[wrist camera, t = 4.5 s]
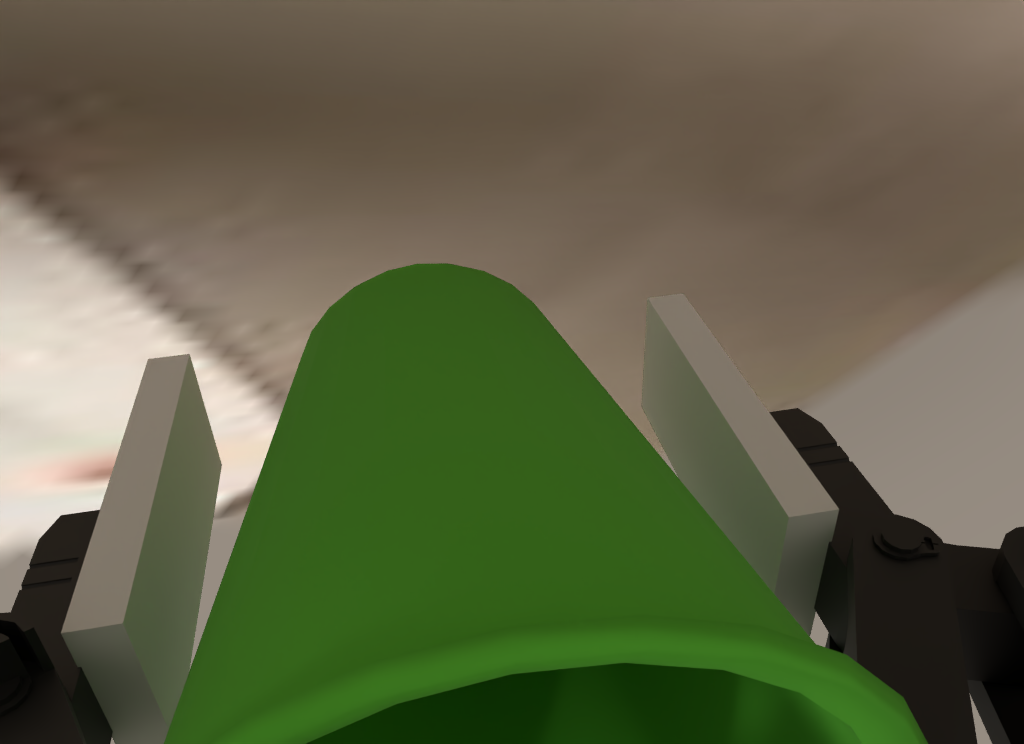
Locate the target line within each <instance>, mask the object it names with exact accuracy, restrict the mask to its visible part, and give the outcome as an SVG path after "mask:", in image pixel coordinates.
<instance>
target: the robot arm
mask: <svg viewBox="0 0 1024 744" xmlns="http://www.w3.org/2000/svg"><path fill="white" fill-rule="evenodd" d="M642 408H643V410H644V412H645V414H646V416H647V418H648V420H649V422H650V424H651V425H652V427H653V429H654V431H655V433H656V435H657V437H658V439H659V441H660V443H661V445H662V447H663V449H664V450H665V452H666V454H667V456H668V458H669V460H670V462H671V464H672V466H673V468H674V470H675V472H676V473H677V476H678V477H679V479H680V481H681V482H682V483H683V484H684V485H685V487H686V488H687V489H688V490H689V491H690V493H691V494H692V495H693V496H694V498H695V499H696V500H697V501H698V502H699V504H700V505H701V506H702V507H703V508H704V510H705V511H706V512H707V513H708V514H709V516H710V517H711V518H712V519H713V520H714V522H715V523H716V524H717V525H718V527H719V528H720V529H721V530H722V531H723V533H724V534H725V535H726V536H727V537H728V539H729V540H730V541H731V542H732V543H733V545H734V546H735V547H736V548H737V550H738V551H739V552H740V553H741V554H742V556H743V557H744V558H745V559H746V560H747V562H748V563H749V564H750V565H751V566H752V568H753V569H754V570H755V571H756V573H757V574H758V575H759V576H760V577H761V579H762V580H763V581H764V582H765V583H766V585H767V586H768V587H769V588H770V589H771V591H772V592H773V593H774V594H775V595H776V597H777V598H778V599H779V600H780V602H781V603H782V604H783V605H784V606H785V608H786V609H787V610H788V611H789V612H790V614H791V615H792V616H793V617H794V618H795V620H796V621H797V622H798V623H799V625H800V626H801V627H802V628H803V629H804V631H805V632H806V633H807V634H808V635H809V636H810V634H811V630H812V625H813V620H814V617H815V612H817V614H818V615H819V617H820V619H821V620H822V622H823V624H824V625H825V627H826V628H827V630H828V632H829V634H828V638H827V643H826V647H825V648H828V649H831V650H834V651H837V652H840V653H843V654H846V655H848V656H849V657H850V658H852V659H853V660H854V661H856V662H857V663H858V664H860V665H861V666H862V667H864V668H865V669H866V670H868V671H869V672H870V673H872V674H873V675H874V676H876V677H877V678H878V679H880V680H881V681H882V682H884V683H885V684H886V685H888V686H889V687H890V688H892V689H893V690H894V691H896V692H897V693H898V694H900V695H901V696H902V697H904V699H905V701H906V703H907V705H908V707H909V709H910V711H911V712H912V714H913V716H914V718H915V720H916V722H917V724H918V726H919V727H920V729H921V731H922V733H923V735H924V737H925V739H926V741H927V742H928V744H977V739H976V732H975V726H974V719H973V713H972V707H971V700H970V695H971V697H972V699H973V701H974V703H975V706H976V708H977V710H978V713H979V715H980V717H981V719H982V722H983V724H984V726H985V728H986V730H987V733H988V735H989V737H990V739H991V741H992V744H1024V527H1018V528H1015V529H1013V530H1012V531H1010V532H1009V533H1007V534H1006V535H1005V538H1004V540H1003V543H1002V545H1001V548H1000V549H991V548H980V547H969V546H957V545H951V544H946V543H943V541H942V539H940V538H939V537H938V536H937V535H936V534H935V533H934V532H933V531H932V530H931V529H930V528H929V527H927V526H925V525H923V524H921V523H919V522H918V521H916V520H914V519H910V518H906V517H903V516H899V515H894V514H893V513H892V511H891V510H890V509H889V508H888V506H887V505H886V504H885V503H884V501H883V500H882V499H881V497H880V496H879V495H878V494H877V492H876V491H875V490H874V489H873V487H872V486H871V485H870V484H869V482H868V481H867V480H866V479H865V477H864V476H863V475H862V474H861V472H860V471H859V470H858V468H857V467H856V466H855V465H854V463H853V462H850V461H849V457H848V456H847V455H846V453H845V452H844V451H843V450H842V448H841V447H840V446H837V442H836V441H835V439H834V438H833V437H832V436H831V434H830V433H829V432H828V431H827V430H826V428H825V427H824V426H823V424H822V423H820V422H819V421H817V420H816V419H814V418H812V417H811V416H809V415H808V414H806V413H805V412H803V411H801V410H800V409H798V408H796V409H789V410H782V411H775V412H769V411H768V410H767V409H766V407H765V406H764V404H763V403H762V402H761V400H760V399H759V398H758V396H757V395H756V393H755V392H754V391H753V389H752V388H751V386H750V385H749V384H748V382H747V381H746V380H745V378H744V377H743V375H742V374H741V373H740V371H739V370H738V368H737V367H736V366H735V364H734V363H733V362H732V360H731V359H730V357H729V356H728V355H727V353H726V352H725V350H724V349H723V348H722V346H721V345H720V344H719V342H718V341H717V339H716V338H715V337H714V335H713V334H712V332H711V331H710V330H709V328H708V327H707V326H706V324H705V323H704V321H703V320H702V319H701V317H700V316H699V314H698V313H697V312H696V310H695V309H694V308H693V306H692V305H691V303H690V302H689V301H688V299H687V298H686V296H685V295H684V294H683V293H682V294H674V295H665V296H657V297H649V298H647V315H646V334H645V352H644V370H643V388H642ZM221 466H222V464H221V461H220V457H219V454H218V450H217V447H216V443H215V440H214V437H213V433H212V430H211V426H210V423H209V419H208V416H207V413H206V409H205V406H204V402H203V399H202V395H201V392H200V389H199V385H198V382H197V378H196V375H195V371H194V368H193V365H192V361H191V358H190V354H187V355H178V356H170V357H162V358H154V359H148V361H147V365H146V368H145V371H144V374H143V377H142V380H141V383H140V387H139V390H138V393H137V396H136V399H135V402H134V405H133V408H132V412H131V415H130V418H129V421H128V424H127V427H126V430H125V434H124V437H123V440H122V443H121V446H120V449H119V452H118V456H117V459H116V462H115V465H114V468H113V471H112V474H111V477H110V481H109V484H108V487H107V490H106V493H105V496H104V499H103V503H102V506H101V509H100V510H96V511H89V512H82V513H75V514H68V515H61V516H60V517H59V518H58V519H57V520H56V522H55V523H54V524H53V525H52V526H51V527H50V528H49V529H48V530H47V531H46V533H45V534H44V535H43V536H42V537H41V538H40V539H39V541H38V544H37V546H36V549H35V551H34V554H33V557H32V559H31V562H30V564H29V565H30V569H28V570H27V572H26V575H25V577H24V580H23V582H22V590H20V591H19V593H18V595H17V598H16V600H15V603H14V605H13V608H12V611H11V613H10V612H9V613H0V744H110V742H111V738H113V740H114V742H115V744H164V741H165V739H166V736H167V733H168V730H169V727H170V725H171V722H172V719H173V716H174V713H175V711H176V708H177V705H178V702H179V699H180V697H181V694H182V691H183V688H184V685H185V683H186V680H187V677H188V674H189V669H190V663H191V656H192V650H193V643H194V637H195V631H196V624H197V618H198V612H199V605H200V599H201V593H202V586H203V580H204V574H205V567H206V561H207V554H208V548H209V542H210V536H211V529H212V523H213V517H214V510H215V504H216V498H217V491H218V485H219V479H220V472H221ZM969 692H970V694H969Z"/></svg>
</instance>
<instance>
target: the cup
mask: <svg viewBox="0 0 1024 744" xmlns="http://www.w3.org/2000/svg"><path fill="white" fill-rule="evenodd" d="M164 744H928V742H927V741H926V739H925V737H924V735H923V733H922V731H921V729H920V727H919V726H918V724H917V722H916V720H915V718H914V716H913V714H912V712H911V711H910V709H909V707H908V705H907V703H906V701H905V699H904V697H902V696H901V695H900V694H898V693H897V692H896V691H894V690H893V689H892V688H890V687H889V686H888V685H886V684H885V683H884V682H882V681H881V680H880V679H878V678H877V677H876V676H874V675H873V674H872V673H870V672H869V671H868V670H866V669H865V668H864V667H862V666H861V665H860V664H858V663H857V662H856V661H854V660H853V659H852V658H850V657H849V656H848V655H846V654H843V653H840V652H837V651H834V650H831V649H828V648H825V647H822V646H819V645H816V644H815V643H814V641H813V640H812V639H811V638H810V637H809V635H808V634H807V633H806V632H805V631H804V629H803V628H802V627H801V626H800V625H799V623H798V622H797V621H796V620H795V618H794V617H793V616H792V615H791V614H790V612H789V611H788V610H787V609H786V608H785V606H784V605H783V604H782V603H781V602H780V600H779V599H778V598H777V597H776V595H775V594H774V593H773V592H772V591H771V589H770V588H769V587H768V586H767V585H766V583H765V582H764V581H763V580H762V579H761V577H760V576H759V575H758V574H757V573H756V571H755V570H754V569H753V568H752V566H751V565H750V564H749V563H748V562H747V560H746V559H745V558H744V557H743V556H742V554H741V553H740V552H739V551H738V550H737V548H736V547H735V546H734V545H733V543H732V542H731V541H730V540H729V539H728V537H727V536H726V535H725V534H724V533H723V531H722V530H721V529H720V528H719V527H718V525H717V524H716V523H715V522H714V520H713V519H712V518H711V517H710V516H709V514H708V513H707V512H706V511H705V510H704V508H703V507H702V506H701V505H700V504H699V502H698V501H697V500H696V499H695V498H694V496H693V495H692V494H691V493H690V491H689V490H688V489H687V488H686V487H685V485H684V484H683V483H682V482H681V481H680V479H679V478H678V477H677V476H676V475H675V473H674V472H673V471H672V470H671V468H670V467H669V466H668V465H667V464H666V462H665V461H664V460H663V459H662V458H661V456H660V455H659V454H658V453H657V452H656V450H655V449H654V448H653V447H652V445H651V444H650V443H649V442H648V441H647V439H646V438H645V437H644V436H643V435H642V433H641V432H640V431H639V430H638V429H637V427H636V426H635V425H634V424H633V423H632V421H631V420H630V419H629V418H628V416H627V415H626V414H625V413H624V412H623V410H622V409H621V408H620V407H619V406H618V404H617V403H616V402H615V401H614V400H613V398H612V397H611V396H610V395H609V393H608V392H607V391H606V390H605V389H604V387H603V386H602V385H601V384H600V383H599V381H598V380H597V379H596V378H595V377H594V375H593V374H592V373H591V372H590V371H589V369H588V368H587V367H586V366H585V364H584V363H583V362H582V361H581V360H580V358H579V357H578V356H577V355H576V354H575V352H574V351H573V350H572V349H571V348H570V346H569V345H568V344H567V343H566V341H565V340H564V339H563V338H562V337H561V335H560V334H559V333H558V332H557V331H556V329H555V328H554V327H553V326H552V325H551V323H550V322H549V321H548V320H547V318H546V317H545V316H544V315H543V314H542V312H541V311H540V310H539V309H538V308H537V306H536V305H535V304H534V303H533V302H532V301H531V300H529V299H528V298H527V297H526V296H525V295H524V294H522V293H521V292H520V291H519V290H518V289H516V288H515V287H514V286H513V285H512V284H510V283H507V282H505V281H503V280H501V279H499V278H497V277H495V276H493V275H491V274H489V273H487V272H485V271H481V270H476V269H472V268H467V267H462V266H458V265H453V264H415V265H410V266H406V267H402V268H397V269H393V270H389V271H386V272H384V273H382V274H380V275H378V276H376V277H374V278H372V279H370V280H367V281H365V282H363V283H361V284H360V285H358V286H356V287H354V288H353V289H352V290H350V291H349V292H348V293H347V294H345V295H344V296H343V297H342V298H341V299H339V300H338V301H337V302H336V303H334V304H333V305H332V306H331V307H330V308H329V309H328V310H327V312H326V313H325V314H324V316H323V317H322V318H321V320H320V321H319V322H318V324H317V325H316V326H315V328H314V329H313V330H312V332H311V334H310V337H309V339H308V342H307V344H306V347H305V350H304V352H303V355H302V357H301V360H300V363H299V366H298V369H297V371H296V374H295V377H294V380H293V383H292V385H291V388H290V391H289V394H288V397H287V399H286V402H285V405H284V408H283V411H282V413H281V416H280V419H279V422H278V425H277V427H276V430H275V433H274V436H273V439H272V441H271V444H270V447H269V450H268V453H267V455H266V458H265V461H264V464H263V467H262V469H261V472H260V475H259V478H258V481H257V483H256V486H255V489H254V492H253V495H252V498H251V500H250V503H249V506H248V509H247V512H246V514H245V517H244V520H243V523H242V526H241V528H240V531H239V534H238V537H237V540H236V543H235V545H234V548H233V551H232V554H231V556H230V559H229V562H228V565H227V568H226V570H225V574H224V576H223V579H222V582H221V584H220V587H219V591H218V593H217V596H216V598H215V601H214V604H213V607H212V610H211V612H210V615H209V618H208V621H207V624H206V626H205V629H204V632H203V635H202V638H201V641H200V643H199V646H198V649H197V652H196V655H195V658H194V660H193V663H192V666H191V669H190V671H189V674H188V677H187V680H186V683H185V685H184V688H183V691H182V694H181V697H180V699H179V702H178V705H177V708H176V711H175V713H174V716H173V719H172V722H171V725H170V727H169V730H168V733H167V736H166V739H165V741H164Z"/></svg>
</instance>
